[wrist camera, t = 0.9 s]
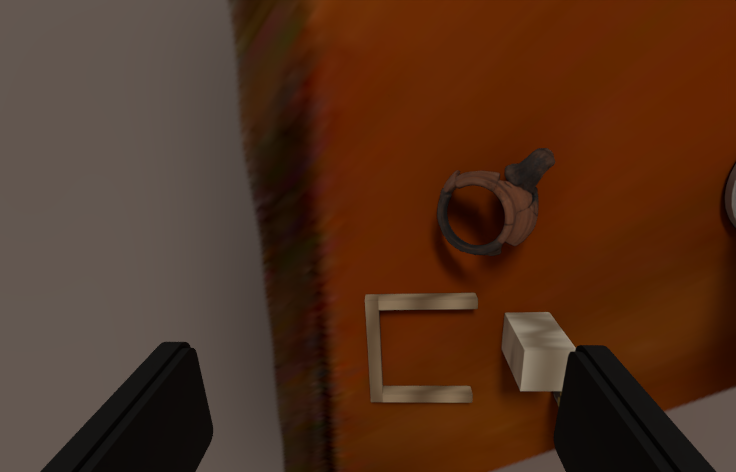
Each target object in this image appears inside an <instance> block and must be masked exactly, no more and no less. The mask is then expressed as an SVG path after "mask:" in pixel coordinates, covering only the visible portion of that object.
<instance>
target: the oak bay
mask: <svg viewBox="0 0 736 472" xmlns="http://www.w3.org/2000/svg"><path fill="white" fill-rule="evenodd" d="M477 308H478V298H477V296H476V294H475V293H433V294H370V295H366V297H365V310H366V327H367V344H368V361H369V378H370V395H371V402H453V403H472V397H473V394H472V391H471V387H470V386H383V379H382V357H381V335H380V312H379V310H432V309H477Z"/></svg>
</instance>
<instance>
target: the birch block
mask: <svg viewBox="0 0 736 472" xmlns="http://www.w3.org/2000/svg"><path fill="white" fill-rule="evenodd" d="M575 349H576V348H575V346H574V345H573V344H572V342H571V341H570V340H569V338H568V337H567V336H566V334H565V333H564V332H563V330H562V329H561V328H560V326H559V325H558V324H557V322H556V321H555V320H554V318H553V317H552V315H551V314H550V313H549V312H533V313H505V315H504V327H503V338H502V351H503V353H504V356H505V358H506V360H507V362H508V365H509V367H510V369H511V371H512V374H513V376H514V378H515V380H516V383H517V385H518V387H519V389H520V391H562V387H563V381H564V376H565V370H566V365H567V359H568V355H569V353H570V352H572V351H575Z"/></svg>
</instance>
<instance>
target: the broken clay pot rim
mask: <svg viewBox="0 0 736 472" xmlns="http://www.w3.org/2000/svg"><path fill="white" fill-rule="evenodd" d="M554 164H555V159H554V156H553V153H552V151H550V150H549V149H547V148H539V149H537V150H535V151H533V152H532V153H531V154H530V155H529V156H528V157H527V158H526V159H524V160H523V161H522V162H521V163H519V164H511V165H509V166H506V168H505V177H506V179H507V180H508V181H509V182H507V181H501V180H500V173H497V172H489V171H488V172H487V171H474V172H466V173H463V174H460V171H458V170H457V171H455V172H454V173H453V174H452V175H451V176H450V178H449V179H448V180H447V182H446V183H445V185H444V188H443V189H442V190H441V194H440V199H439V203H438V209H437V219H438V223H439V226H440V227H441V231H442V233H443V235H444V236H445V238H446V239H447V241H448V242H449V243H450V244H451V245H453V246H454V247H455V248H457V249H459V250H460V251H462V252H466V253H469V254H474V255H489V256H494V255H499V254H500V253H501V247H502V245H503V243H504V242H506V243H508V244H511V245H513V246H517V245H518V244H520V243H522V242H523V241H524V240H525V239H526V238H527V237H528V235H530V233H531V232H532V230H533V229H534V227H535V224H536V221H537V216H538V194H537V188H536V187H535V186H536V185H537V183H538V182H539V180H540V179H541V178H542V176H543V174H544V173H545V172H546V171H547V170H548V169H549V168H550V167H552V166H553V165H554ZM459 174H460V175H459ZM470 185H476V186H481V187H484V188H486V189H488V190H490V191H492V192H493V193H494V194H495V195H496V196H497V197H498V198H499V200H500V202H501V204H502V206H503V209H504V213H505V222H504V226H503V229H502V231H501V233H500V235H499V236H498V237H497V238H496V239H495V240H494V241H493V242H491V243H489V244H486V245H471V244H468V243H466V242H464V241H463V240H461V239H460V238H459V237H457V236H456V234H455V233H454V232H453V230H452V229H451V227H450V225H449V221H448V217H447V208H448V203H449V200H450V198H451V193H452V192H453V191H454V190H455V189H456V188H459V189H460V188H463V187H465V186H470Z"/></svg>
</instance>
